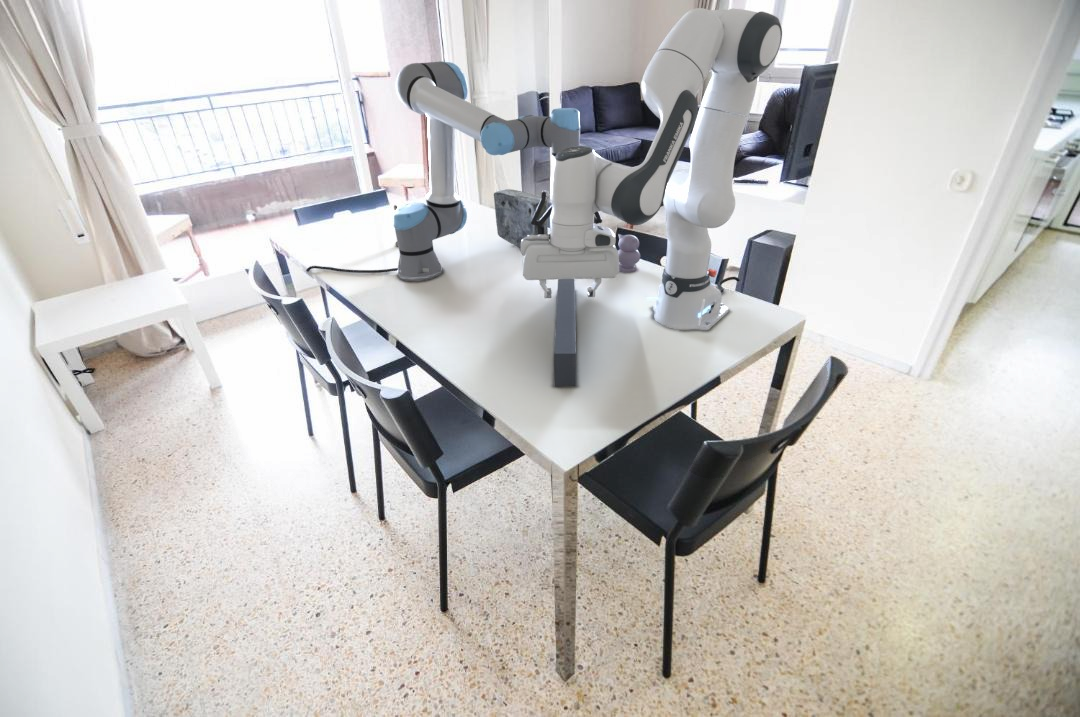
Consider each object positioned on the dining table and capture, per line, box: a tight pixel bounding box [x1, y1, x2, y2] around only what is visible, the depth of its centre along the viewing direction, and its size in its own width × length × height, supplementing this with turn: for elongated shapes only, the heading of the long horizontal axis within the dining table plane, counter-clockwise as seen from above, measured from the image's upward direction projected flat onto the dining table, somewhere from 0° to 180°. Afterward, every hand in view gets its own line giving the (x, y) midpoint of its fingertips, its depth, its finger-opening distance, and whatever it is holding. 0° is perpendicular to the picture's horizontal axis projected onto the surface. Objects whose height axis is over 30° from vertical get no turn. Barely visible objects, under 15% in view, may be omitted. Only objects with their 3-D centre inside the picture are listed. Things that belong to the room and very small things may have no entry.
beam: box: [553, 279, 577, 387], centre depth 134 cm, size 53×5×9 cm, turn 177°
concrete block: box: [493, 188, 549, 249], centre depth 191 cm, size 27×9×20 cm, turn 36°
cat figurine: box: [617, 233, 641, 273], centre depth 170 cm, size 8×8×12 cm
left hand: (566, 247), depth 146 cm, fingers open, 13 cm apart
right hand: (569, 296), depth 108 cm, fingers open, 8 cm apart
